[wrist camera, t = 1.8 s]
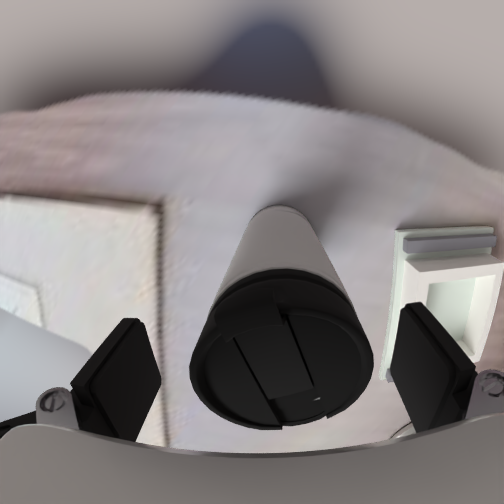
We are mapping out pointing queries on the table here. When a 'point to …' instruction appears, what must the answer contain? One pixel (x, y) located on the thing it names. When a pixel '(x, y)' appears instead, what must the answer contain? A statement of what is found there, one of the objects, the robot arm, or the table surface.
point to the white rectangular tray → (446, 284)
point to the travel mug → (280, 331)
